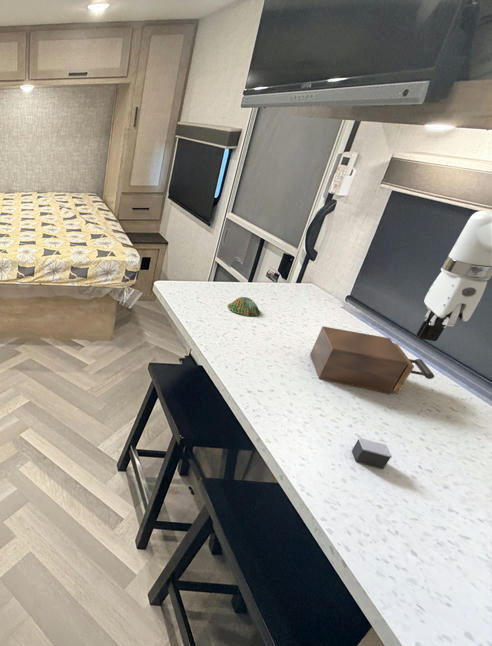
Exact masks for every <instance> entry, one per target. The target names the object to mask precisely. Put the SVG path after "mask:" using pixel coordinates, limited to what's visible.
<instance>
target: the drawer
mask: <svg viewBox="0 0 492 646" xmlns="http://www.w3.org/2000/svg"><path fill="white" fill-rule="evenodd" d="M393 343H394V345H395V346H396V347H397V349H398V350H399V351H400V353H401V354H402V356H403V357H404V358H405V360H406V361H407V362H408V364H407V365H406V367H405V369H404V370H403V372H402V374H401V375H400V377H399V379H398V380H397V382H396V384H395V385H394V387H393V389H392V390H391V391H394V392H400V391H401V389H402V388H403V386H404V384H405V383H406V381H407V380H408V378H409V376H410V375H411V374H413V375H418V376H422V377H425V379H427V380H432V379H434V378H435V374H434V373H433V372H432V370H431V369H430V368H429V366H427V364H426V363H425V362H424V361H423V359H421V358H416V359H412V358H411V359H410V358H409V357H408V356H407V354H406V353H405V352H404V351H403V350H402V348H401V347H400V345H399V344H398V343H396V342H393ZM415 366H416V368H418V370H419V371H418V370H414V368H415Z"/></svg>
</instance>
